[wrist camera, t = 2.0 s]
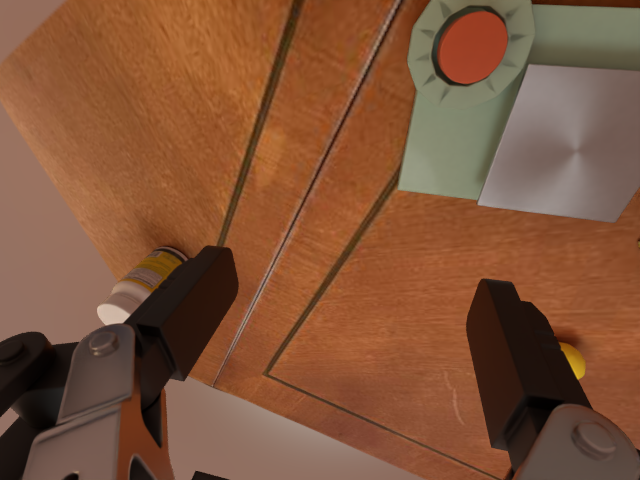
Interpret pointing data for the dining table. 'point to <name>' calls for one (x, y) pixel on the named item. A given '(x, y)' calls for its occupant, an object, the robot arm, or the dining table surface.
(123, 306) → the supplement bottle
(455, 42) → the power button
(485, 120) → the scale
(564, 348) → the light bulb
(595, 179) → the scale pan
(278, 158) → the dining table surface
